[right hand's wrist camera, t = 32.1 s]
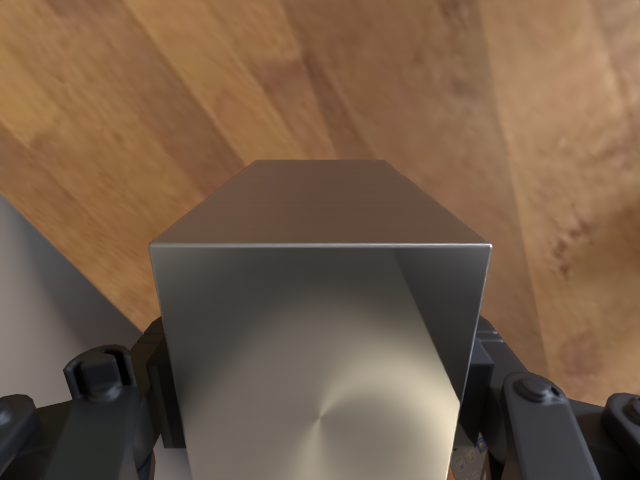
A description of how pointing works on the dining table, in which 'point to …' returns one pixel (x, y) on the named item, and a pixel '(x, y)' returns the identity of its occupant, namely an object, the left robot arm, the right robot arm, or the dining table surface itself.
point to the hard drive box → (469, 461)
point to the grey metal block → (320, 323)
